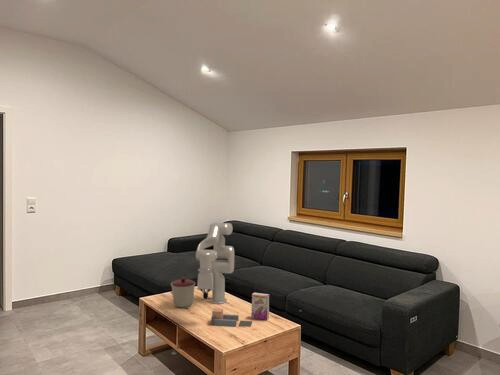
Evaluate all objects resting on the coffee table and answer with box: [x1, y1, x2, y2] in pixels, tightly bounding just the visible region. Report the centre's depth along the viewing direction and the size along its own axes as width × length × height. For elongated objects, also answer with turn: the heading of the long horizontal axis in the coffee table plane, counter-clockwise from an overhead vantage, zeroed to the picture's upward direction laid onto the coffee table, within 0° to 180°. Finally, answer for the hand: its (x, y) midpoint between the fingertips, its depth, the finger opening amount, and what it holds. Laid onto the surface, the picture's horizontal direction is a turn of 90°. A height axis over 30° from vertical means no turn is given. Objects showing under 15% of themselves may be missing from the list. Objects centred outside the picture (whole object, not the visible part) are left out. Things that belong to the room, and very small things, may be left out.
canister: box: [170, 276, 197, 308], centre depth 287 cm, size 18×18×21 cm
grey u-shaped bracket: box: [210, 313, 240, 327], centre depth 255 cm, size 11×16×6 cm
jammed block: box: [211, 307, 224, 319], centre depth 256 cm, size 6×6×8 cm
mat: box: [238, 320, 253, 328], centre depth 254 cm, size 9×8×1 cm
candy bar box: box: [251, 292, 270, 321], centre depth 263 cm, size 11×5×16 cm, turn 71°
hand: (205, 298), depth 256 cm, fingers closed
